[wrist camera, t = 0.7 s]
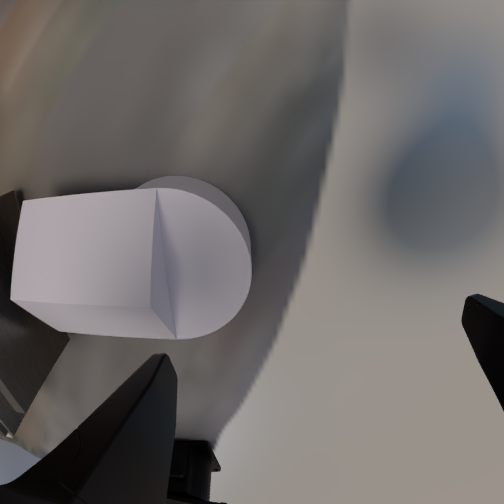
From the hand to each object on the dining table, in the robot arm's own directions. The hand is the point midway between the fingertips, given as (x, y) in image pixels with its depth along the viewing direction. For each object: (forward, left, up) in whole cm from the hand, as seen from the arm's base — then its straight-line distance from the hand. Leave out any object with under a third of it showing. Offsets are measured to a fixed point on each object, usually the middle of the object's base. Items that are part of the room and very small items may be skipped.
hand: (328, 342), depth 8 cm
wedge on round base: (-1, +9, -12) cm, 15 cm away
